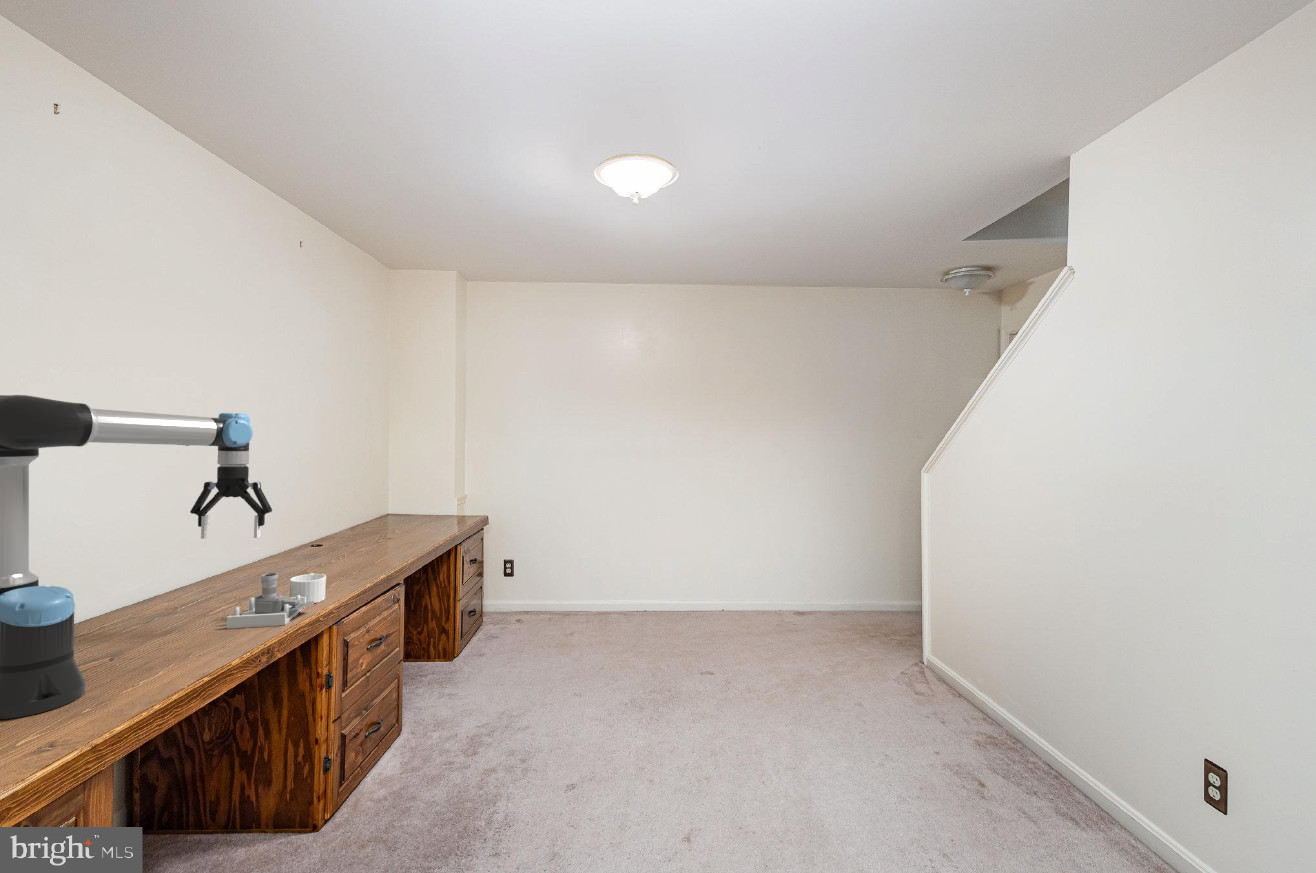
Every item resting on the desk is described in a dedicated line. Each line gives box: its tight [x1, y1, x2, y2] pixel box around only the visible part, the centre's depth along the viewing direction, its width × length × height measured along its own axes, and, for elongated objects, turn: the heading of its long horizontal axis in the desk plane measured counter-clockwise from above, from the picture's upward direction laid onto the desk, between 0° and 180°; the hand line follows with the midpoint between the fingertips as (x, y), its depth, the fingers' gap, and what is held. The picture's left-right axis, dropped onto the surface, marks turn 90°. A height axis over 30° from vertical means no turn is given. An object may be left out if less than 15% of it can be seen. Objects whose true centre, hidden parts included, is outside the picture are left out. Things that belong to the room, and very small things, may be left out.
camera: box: [254, 572, 315, 614], centre depth 182 cm, size 9×12×15 cm
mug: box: [289, 572, 327, 605], centre depth 198 cm, size 13×10×8 cm
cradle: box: [226, 595, 306, 630], centre depth 180 cm, size 18×15×5 cm
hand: (231, 537), depth 174 cm, fingers open, 13 cm apart
